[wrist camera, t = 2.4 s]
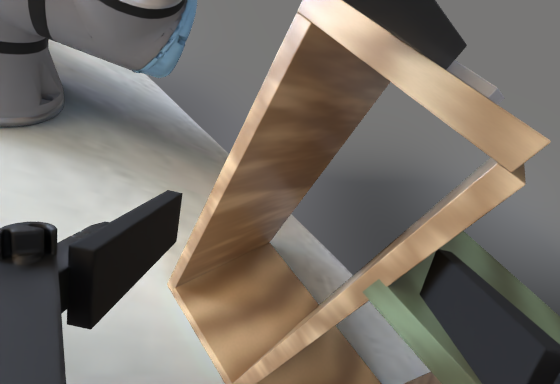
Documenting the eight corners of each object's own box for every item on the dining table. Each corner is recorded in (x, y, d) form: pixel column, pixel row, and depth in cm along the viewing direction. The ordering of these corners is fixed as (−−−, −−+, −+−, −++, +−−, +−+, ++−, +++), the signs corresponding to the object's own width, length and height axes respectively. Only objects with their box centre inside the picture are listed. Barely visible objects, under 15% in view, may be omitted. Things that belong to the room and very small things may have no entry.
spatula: (402, 39, 4) (489, -82, 3) (166, -120, 6) (182, -210, 6) (497, 105, 21) (515, 88, 20) (420, 53, 23) (434, 36, 22)
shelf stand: (166, 284, 31) (311, -21, 14) (261, 240, 42) (404, 42, 25) (320, 545, 22) (1182, 566, 5) (387, 403, 33) (734, 265, 17)
